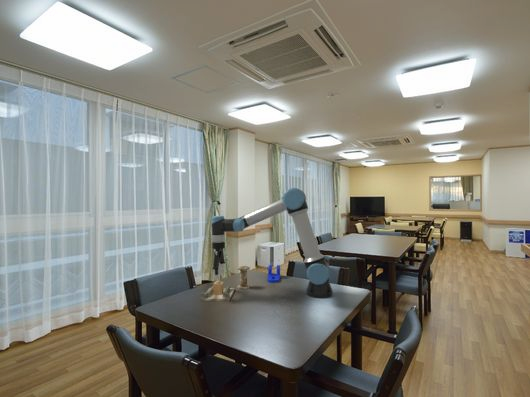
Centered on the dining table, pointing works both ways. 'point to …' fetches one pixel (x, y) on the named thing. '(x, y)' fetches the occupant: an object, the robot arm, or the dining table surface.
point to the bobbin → (243, 277)
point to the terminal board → (218, 295)
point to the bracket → (273, 275)
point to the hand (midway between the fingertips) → (219, 277)
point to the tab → (218, 287)
